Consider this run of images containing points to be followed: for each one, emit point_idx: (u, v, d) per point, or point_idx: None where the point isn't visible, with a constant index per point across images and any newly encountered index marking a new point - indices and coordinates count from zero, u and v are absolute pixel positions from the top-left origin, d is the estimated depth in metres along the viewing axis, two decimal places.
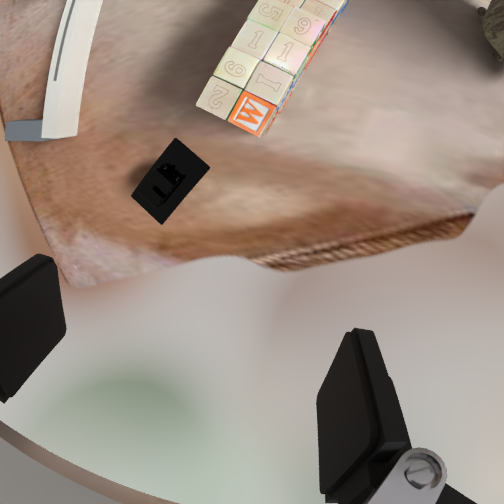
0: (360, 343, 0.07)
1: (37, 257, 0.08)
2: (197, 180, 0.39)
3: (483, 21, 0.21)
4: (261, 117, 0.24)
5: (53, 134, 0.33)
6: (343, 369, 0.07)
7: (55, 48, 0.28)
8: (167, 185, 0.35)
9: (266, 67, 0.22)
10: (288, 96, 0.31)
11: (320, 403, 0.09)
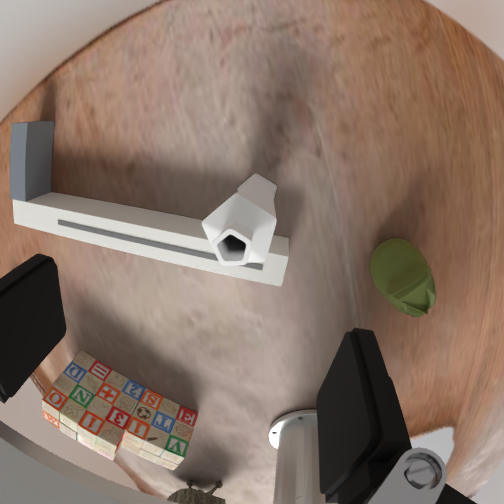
0: (360, 343, 0.07)
1: (37, 257, 0.08)
2: None
3: (191, 492, 0.47)
4: (52, 422, 0.33)
5: (16, 219, 0.29)
6: (343, 369, 0.07)
7: (93, 218, 0.28)
8: None
9: (73, 433, 0.33)
10: None
11: (320, 403, 0.09)
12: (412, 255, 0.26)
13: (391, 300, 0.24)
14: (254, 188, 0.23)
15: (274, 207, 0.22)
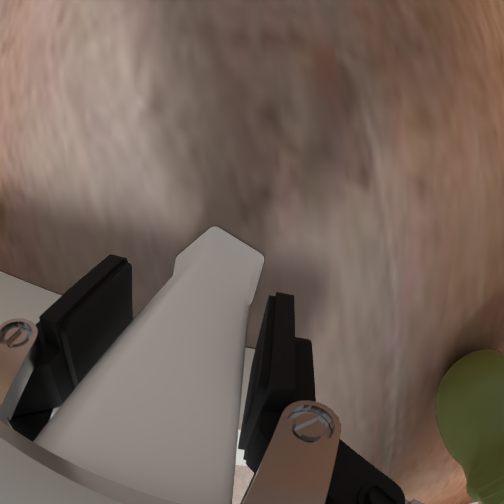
0: (276, 304, 0.08)
1: (112, 258, 0.09)
2: None
3: None
4: None
5: None
6: (262, 329, 0.09)
7: None
8: None
9: None
10: None
11: (252, 366, 0.10)
12: None
13: (476, 500, 0.07)
14: (174, 334, 0.06)
15: (234, 451, 0.05)
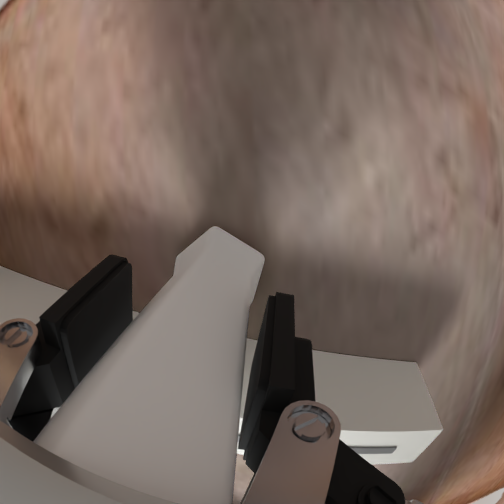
0: (276, 304, 0.08)
1: (112, 258, 0.09)
2: None
3: None
4: None
5: None
6: (262, 329, 0.09)
7: None
8: None
9: None
10: None
11: (252, 366, 0.10)
12: None
13: None
14: (174, 334, 0.06)
15: (234, 450, 0.05)
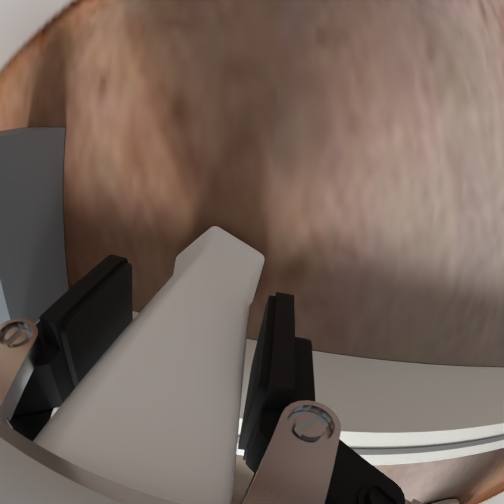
0: (276, 304, 0.08)
1: (112, 258, 0.09)
2: None
3: None
4: None
5: None
6: (262, 329, 0.09)
7: None
8: None
9: None
10: None
11: (252, 366, 0.10)
12: None
13: None
14: (174, 334, 0.06)
15: (234, 450, 0.05)
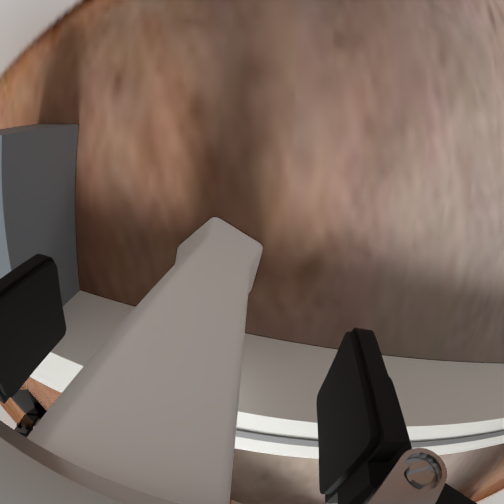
0: (360, 343, 0.07)
1: (37, 257, 0.08)
2: None
3: None
4: None
5: None
6: (343, 369, 0.07)
7: (249, 418, 0.11)
8: None
9: None
10: None
11: (320, 403, 0.09)
12: None
13: None
14: (178, 313, 0.07)
15: (234, 420, 0.05)
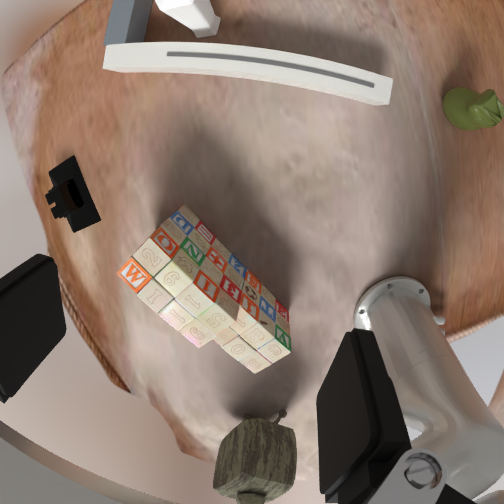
0: (360, 343, 0.07)
1: (37, 257, 0.08)
2: (67, 219, 0.41)
3: (257, 421, 0.48)
4: (130, 280, 0.31)
5: (106, 63, 0.28)
6: (343, 369, 0.07)
7: (212, 45, 0.27)
8: (55, 214, 0.37)
9: (166, 299, 0.31)
10: None
11: (320, 403, 0.09)
12: (475, 92, 0.25)
13: (475, 109, 0.23)
14: None
15: None
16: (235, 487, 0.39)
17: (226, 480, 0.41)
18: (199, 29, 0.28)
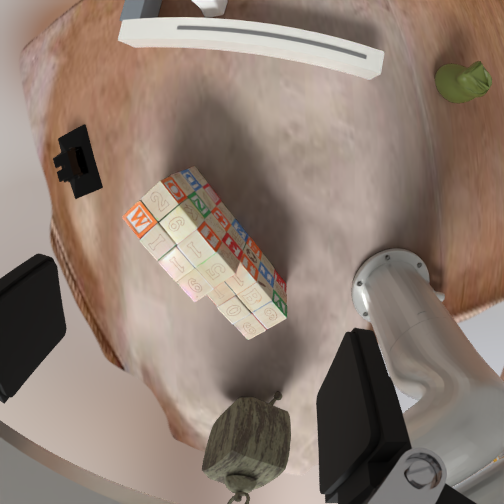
0: (360, 343, 0.07)
1: (37, 257, 0.08)
2: (71, 185, 0.43)
3: (250, 400, 0.48)
4: (134, 224, 0.31)
5: (122, 36, 0.29)
6: (343, 369, 0.07)
7: (218, 20, 0.28)
8: (60, 177, 0.38)
9: (168, 246, 0.31)
10: None
11: (320, 403, 0.09)
12: (465, 67, 0.26)
13: (463, 78, 0.24)
14: None
15: None
16: (224, 468, 0.39)
17: (215, 461, 0.40)
18: (207, 8, 0.29)
